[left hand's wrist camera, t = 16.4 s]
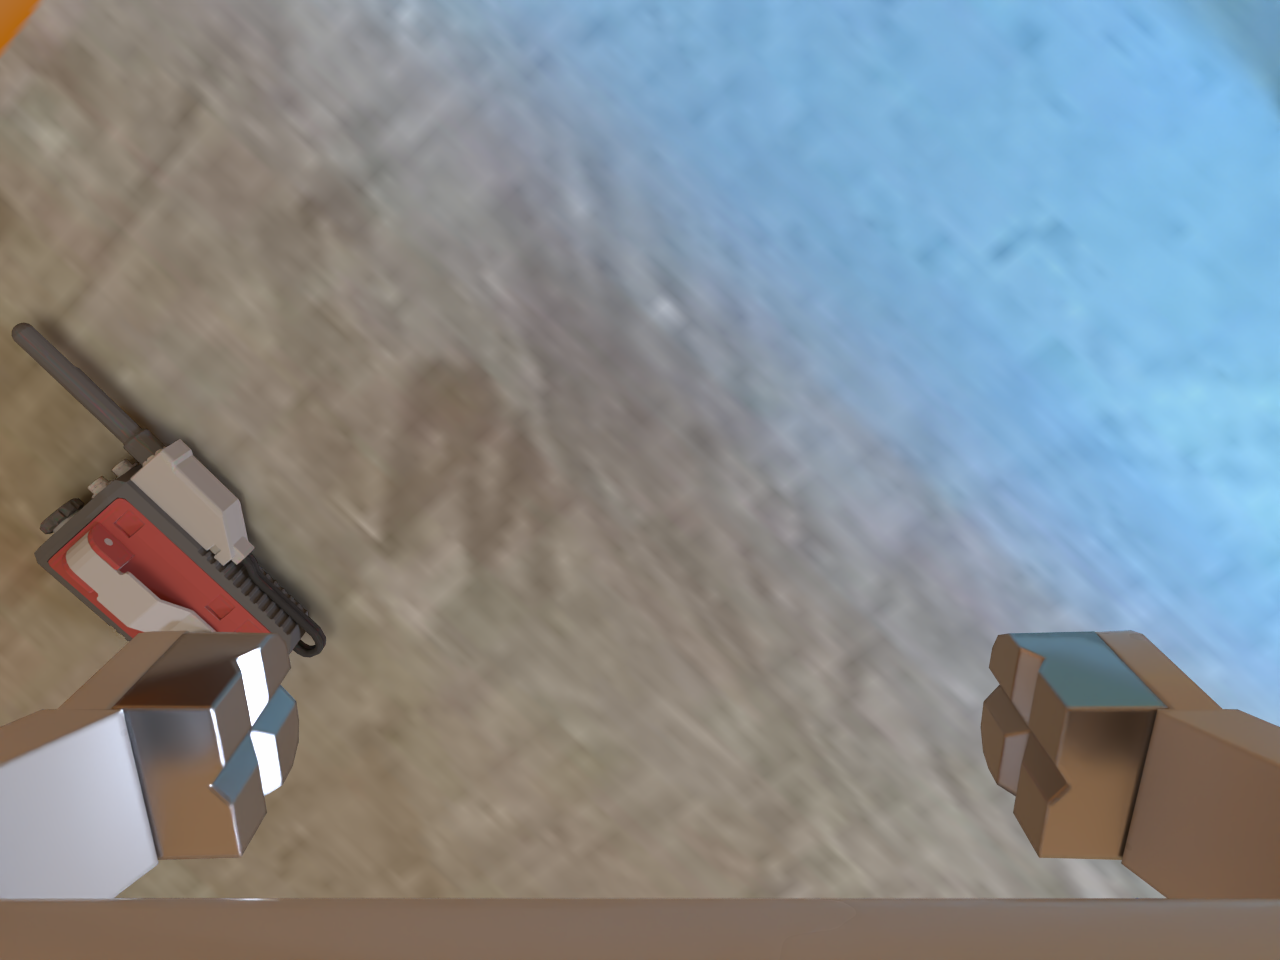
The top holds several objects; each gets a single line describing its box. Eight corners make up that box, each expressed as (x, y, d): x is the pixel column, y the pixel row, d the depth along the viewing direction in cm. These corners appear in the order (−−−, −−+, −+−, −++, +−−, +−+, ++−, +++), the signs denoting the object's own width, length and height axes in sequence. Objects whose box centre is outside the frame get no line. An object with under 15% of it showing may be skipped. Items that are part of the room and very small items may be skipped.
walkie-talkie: (365, 609, 46) (50, 305, 40) (337, 654, 41) (-17, 322, 36) (249, 701, 48) (-67, 422, 42) (211, 753, 43) (-144, 451, 38)
